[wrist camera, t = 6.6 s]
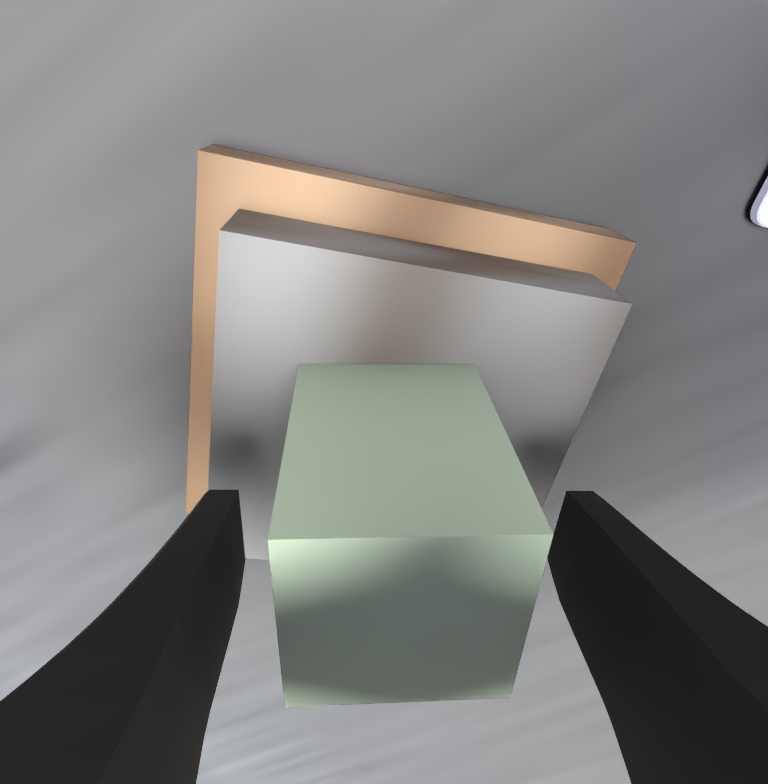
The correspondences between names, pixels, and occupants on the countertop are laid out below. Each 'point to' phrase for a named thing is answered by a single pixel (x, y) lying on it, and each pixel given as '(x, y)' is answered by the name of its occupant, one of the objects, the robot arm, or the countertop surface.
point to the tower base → (368, 214)
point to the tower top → (392, 339)
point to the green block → (401, 539)
